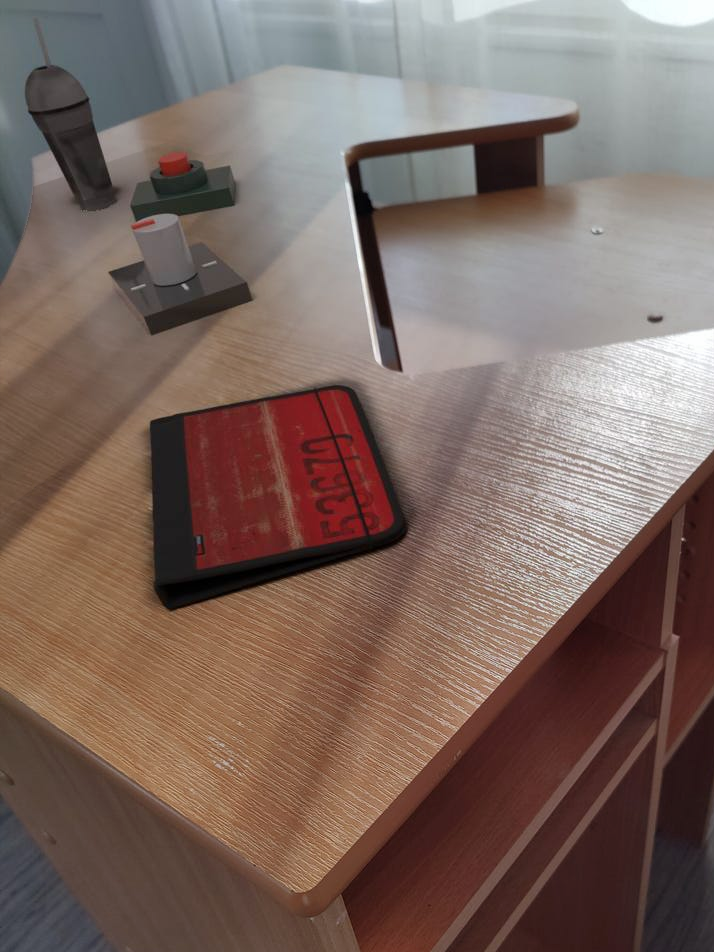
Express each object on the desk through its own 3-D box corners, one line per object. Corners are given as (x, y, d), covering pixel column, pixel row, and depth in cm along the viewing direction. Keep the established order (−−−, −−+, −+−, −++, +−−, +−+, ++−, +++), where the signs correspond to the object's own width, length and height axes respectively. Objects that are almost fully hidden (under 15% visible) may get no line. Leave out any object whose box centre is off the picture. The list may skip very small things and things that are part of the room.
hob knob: (190, 262, 86) (170, 206, 83) (202, 276, 83) (182, 218, 80) (147, 276, 85) (125, 219, 81) (157, 290, 82) (135, 232, 79)
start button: (161, 179, 106) (156, 164, 104) (164, 170, 108) (158, 155, 107) (191, 174, 106) (186, 158, 104) (192, 165, 108) (187, 150, 107)
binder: (150, 584, 52) (145, 417, 66) (163, 613, 53) (155, 444, 68) (411, 521, 54) (350, 374, 69) (416, 551, 56) (356, 400, 70)
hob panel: (119, 300, 90) (106, 270, 87) (211, 270, 92) (201, 240, 90) (156, 348, 80) (143, 315, 78) (256, 313, 83) (246, 280, 81)
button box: (137, 224, 106) (123, 189, 103) (143, 201, 112) (131, 167, 110) (234, 206, 107) (224, 170, 104) (235, 183, 113) (225, 149, 110)
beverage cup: (62, 209, 114) (-17, 26, 100) (114, 191, 117) (44, 11, 103) (83, 220, 110) (4, 30, 95) (136, 201, 112) (66, 15, 98)
